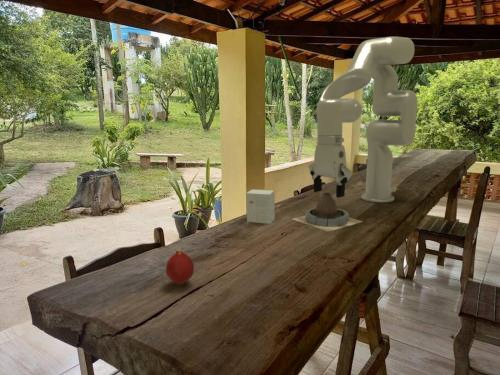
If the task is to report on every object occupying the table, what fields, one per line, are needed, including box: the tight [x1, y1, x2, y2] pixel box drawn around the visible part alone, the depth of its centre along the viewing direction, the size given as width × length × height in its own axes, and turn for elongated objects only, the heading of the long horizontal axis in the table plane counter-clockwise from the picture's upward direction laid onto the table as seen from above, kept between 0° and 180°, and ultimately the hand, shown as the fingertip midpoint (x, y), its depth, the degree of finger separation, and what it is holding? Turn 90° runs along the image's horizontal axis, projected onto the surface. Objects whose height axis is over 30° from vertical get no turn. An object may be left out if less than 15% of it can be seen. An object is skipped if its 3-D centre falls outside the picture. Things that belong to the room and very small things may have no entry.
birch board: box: [292, 215, 363, 233], centre depth 116 cm, size 16×16×1 cm
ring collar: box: [304, 207, 350, 227], centre depth 116 cm, size 13×13×2 cm
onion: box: [165, 249, 195, 286], centre depth 75 cm, size 6×6×8 cm
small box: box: [245, 189, 276, 225], centre depth 116 cm, size 8×6×10 cm
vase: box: [315, 192, 339, 218], centre depth 115 cm, size 7×7×9 cm
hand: (328, 194), depth 115 cm, fingers open, 9 cm apart
